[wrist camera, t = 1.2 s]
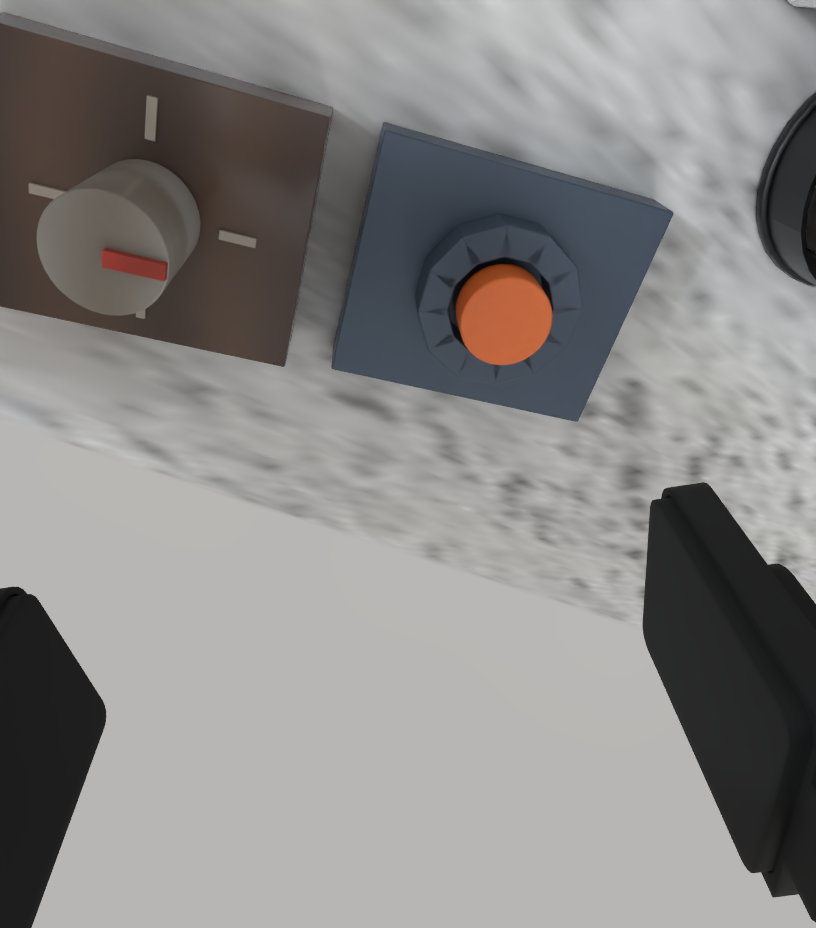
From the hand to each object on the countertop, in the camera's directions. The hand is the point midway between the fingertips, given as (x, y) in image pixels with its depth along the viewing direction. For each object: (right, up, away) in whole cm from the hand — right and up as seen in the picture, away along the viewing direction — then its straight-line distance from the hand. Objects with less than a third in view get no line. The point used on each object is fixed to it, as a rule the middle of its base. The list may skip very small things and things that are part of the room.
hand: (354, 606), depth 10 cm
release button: (+5, +9, +17) cm, 20 cm away
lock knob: (-9, +11, +15) cm, 21 cm away
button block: (+4, +11, +20) cm, 23 cm away
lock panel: (-9, +13, +18) cm, 24 cm away
